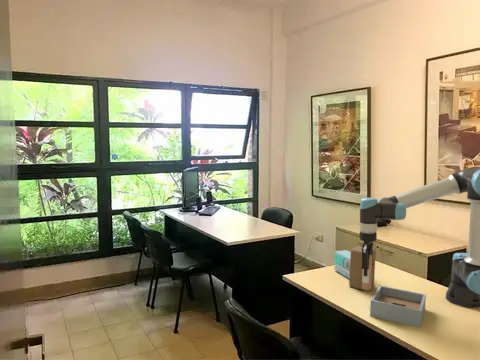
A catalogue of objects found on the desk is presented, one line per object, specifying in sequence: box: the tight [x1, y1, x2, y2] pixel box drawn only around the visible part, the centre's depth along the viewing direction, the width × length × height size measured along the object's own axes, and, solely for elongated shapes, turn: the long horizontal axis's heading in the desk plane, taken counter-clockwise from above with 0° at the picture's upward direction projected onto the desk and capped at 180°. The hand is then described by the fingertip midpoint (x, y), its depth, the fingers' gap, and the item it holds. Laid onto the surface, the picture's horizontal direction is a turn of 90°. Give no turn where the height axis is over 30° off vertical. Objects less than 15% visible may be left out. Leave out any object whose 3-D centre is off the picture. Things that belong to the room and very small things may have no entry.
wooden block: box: [348, 245, 377, 292], centre depth 199 cm, size 10×10×20 cm
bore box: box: [369, 285, 427, 328], centre depth 171 cm, size 20×20×7 cm
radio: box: [334, 243, 361, 280], centre depth 216 cm, size 16×9×20 cm, turn 17°
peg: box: [362, 254, 372, 291], centre depth 179 cm, size 4×4×16 cm
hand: (366, 280), depth 179 cm, fingers closed on peg, 4 cm apart
